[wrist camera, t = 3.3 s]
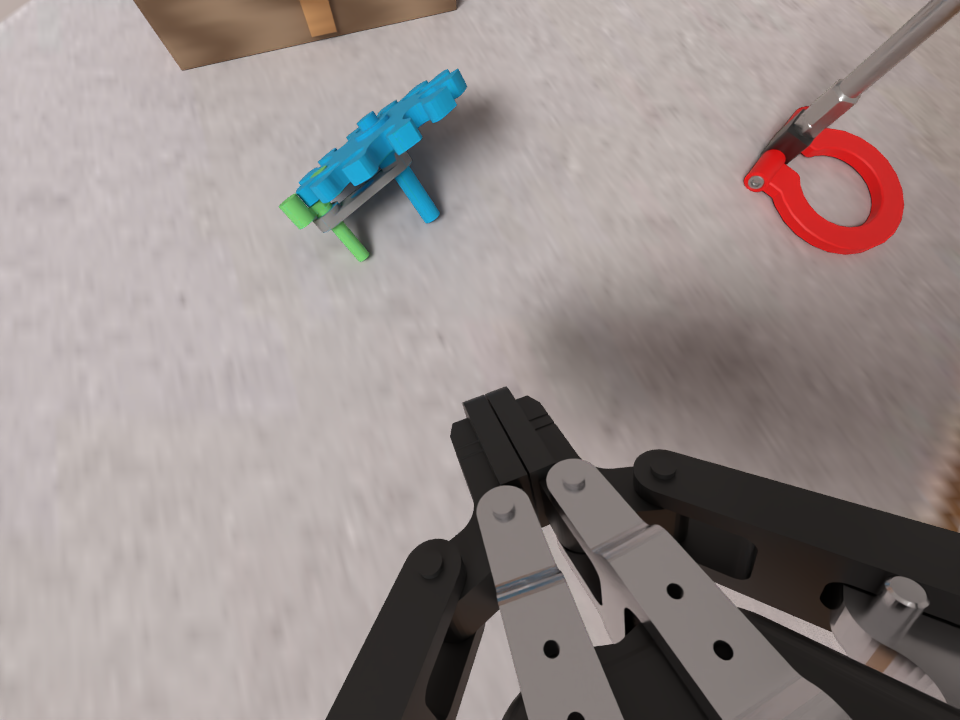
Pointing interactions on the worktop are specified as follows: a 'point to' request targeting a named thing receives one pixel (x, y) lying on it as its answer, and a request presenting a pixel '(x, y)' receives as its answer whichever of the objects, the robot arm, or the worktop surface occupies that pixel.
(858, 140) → the tow hook
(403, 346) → the worktop surface
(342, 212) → the gear
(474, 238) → the worktop surface
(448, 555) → the robot arm
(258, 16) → the rail
